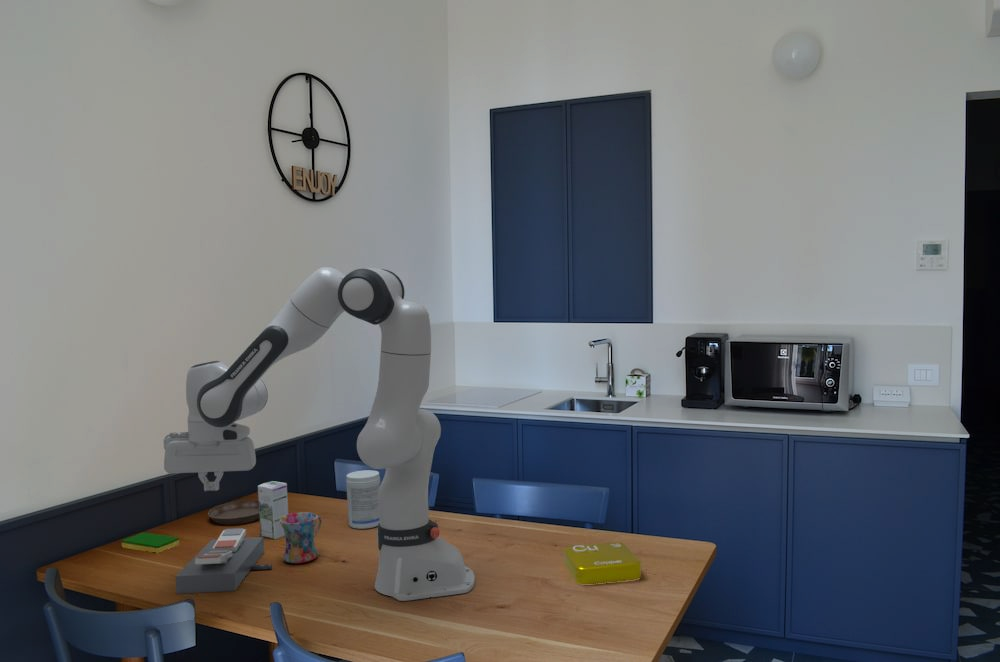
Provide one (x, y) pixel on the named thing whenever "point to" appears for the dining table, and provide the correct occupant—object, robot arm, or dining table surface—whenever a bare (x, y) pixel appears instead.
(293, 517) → the mug
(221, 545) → the rocker
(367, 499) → the supplement tub
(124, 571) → the dining table surface
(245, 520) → the plant saucer
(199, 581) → the switch panel
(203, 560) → the rocker
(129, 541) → the dish sponge
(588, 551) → the element tile
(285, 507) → the syrup box
